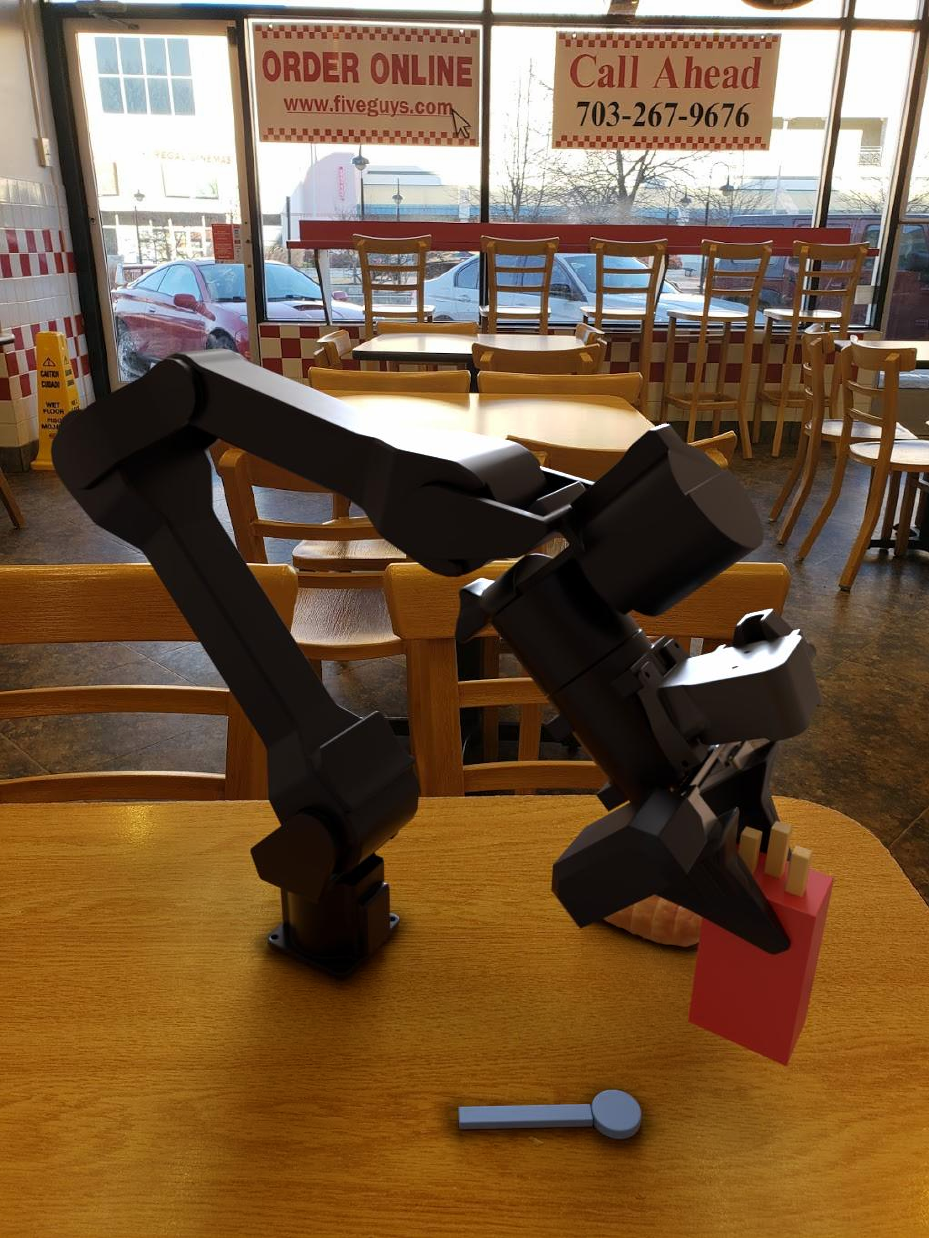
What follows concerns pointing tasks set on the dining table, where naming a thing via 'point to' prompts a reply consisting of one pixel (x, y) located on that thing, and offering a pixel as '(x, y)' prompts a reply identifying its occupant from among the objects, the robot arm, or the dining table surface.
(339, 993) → the dining table surface
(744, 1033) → the fries carton
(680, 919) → the pastry
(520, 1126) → the spoon
